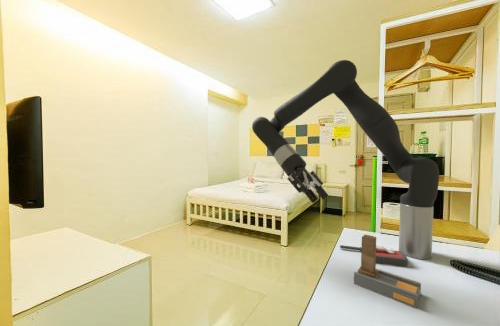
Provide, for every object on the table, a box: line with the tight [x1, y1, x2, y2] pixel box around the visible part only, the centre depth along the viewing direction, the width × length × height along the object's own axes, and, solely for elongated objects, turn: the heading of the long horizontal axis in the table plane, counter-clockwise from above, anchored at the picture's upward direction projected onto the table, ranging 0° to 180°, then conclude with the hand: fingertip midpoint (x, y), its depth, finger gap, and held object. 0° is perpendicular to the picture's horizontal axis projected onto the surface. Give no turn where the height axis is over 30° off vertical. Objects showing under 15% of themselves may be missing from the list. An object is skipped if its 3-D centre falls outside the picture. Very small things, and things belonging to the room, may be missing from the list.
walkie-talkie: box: [339, 245, 409, 268], centre depth 74 cm, size 9×4×20 cm
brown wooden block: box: [357, 234, 380, 279], centre depth 59 cm, size 4×4×10 cm
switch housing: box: [353, 267, 422, 309], centre depth 56 cm, size 7×14×3 cm, turn 46°
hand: (321, 199), depth 68 cm, fingers open, 6 cm apart
